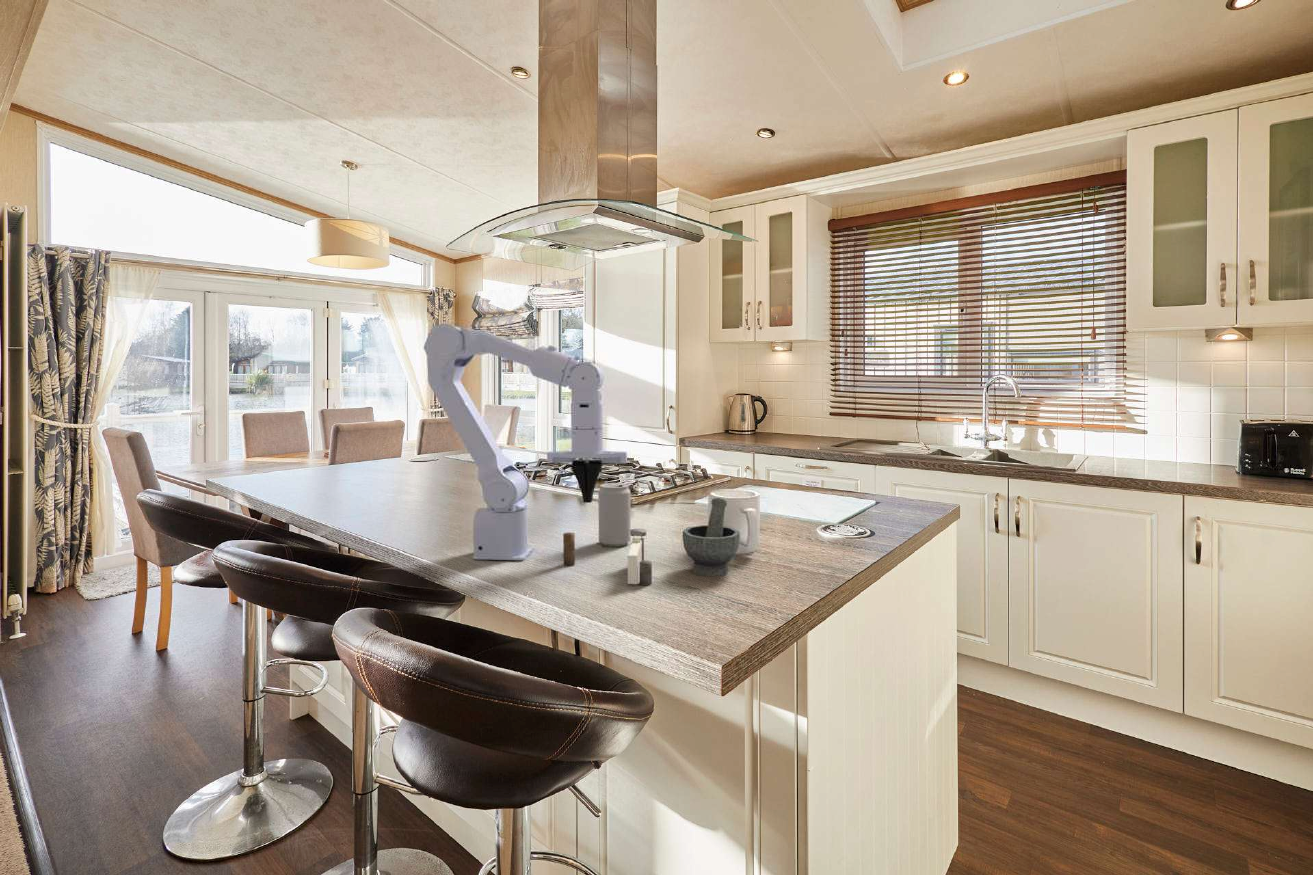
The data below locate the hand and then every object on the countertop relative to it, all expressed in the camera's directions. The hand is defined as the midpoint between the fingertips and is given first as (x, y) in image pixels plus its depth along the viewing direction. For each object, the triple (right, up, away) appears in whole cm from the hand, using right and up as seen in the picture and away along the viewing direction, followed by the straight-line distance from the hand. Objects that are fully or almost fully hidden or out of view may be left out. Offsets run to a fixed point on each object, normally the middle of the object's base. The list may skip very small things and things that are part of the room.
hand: (587, 501), depth 118 cm
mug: (+28, -10, +7) cm, 31 cm away
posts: (+4, -11, -9) cm, 15 cm away
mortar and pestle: (+22, -11, -6) cm, 26 cm away
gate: (+9, -11, -9) cm, 17 cm away
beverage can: (+4, -10, +10) cm, 15 cm away
